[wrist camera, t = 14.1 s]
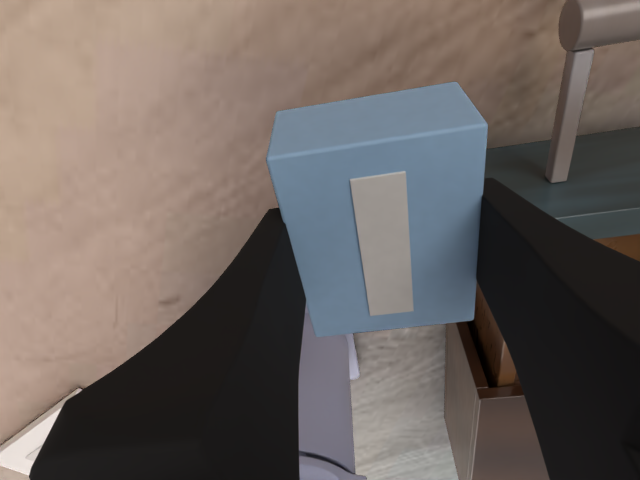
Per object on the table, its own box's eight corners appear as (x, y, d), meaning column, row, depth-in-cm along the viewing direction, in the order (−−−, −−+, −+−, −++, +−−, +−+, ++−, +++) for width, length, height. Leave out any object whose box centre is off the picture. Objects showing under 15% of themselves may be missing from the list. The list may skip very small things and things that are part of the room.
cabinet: (446, 292, 26) (479, 399, 20) (666, 267, 24) (766, 375, 19) (444, 416, 34) (467, 515, 29) (606, 403, 33) (662, 504, 28)
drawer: (474, -9, 15) (532, 29, 11) (822, -73, 14) (1038, -59, 10) (458, 340, 27) (482, 422, 23) (644, 322, 26) (706, 405, 22)
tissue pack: (316, 278, 15) (314, 340, 13) (274, 110, 11) (263, 159, 9) (453, 261, 14) (475, 323, 12) (457, 79, 11) (491, 124, 9)
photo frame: (71, 401, 31) (257, 483, 39) (78, 387, 32) (258, 470, 40) (-14, 463, 37) (162, 522, 45) (-6, 450, 38) (165, 511, 46)
